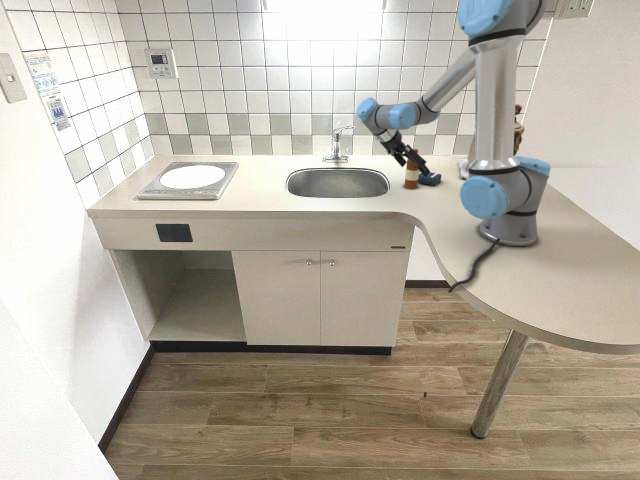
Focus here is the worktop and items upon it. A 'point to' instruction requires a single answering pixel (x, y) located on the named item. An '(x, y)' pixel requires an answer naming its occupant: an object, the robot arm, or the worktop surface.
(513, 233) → the robot arm
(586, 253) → the worktop surface
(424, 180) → the towel
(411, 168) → the bottle
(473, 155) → the cookie jar
